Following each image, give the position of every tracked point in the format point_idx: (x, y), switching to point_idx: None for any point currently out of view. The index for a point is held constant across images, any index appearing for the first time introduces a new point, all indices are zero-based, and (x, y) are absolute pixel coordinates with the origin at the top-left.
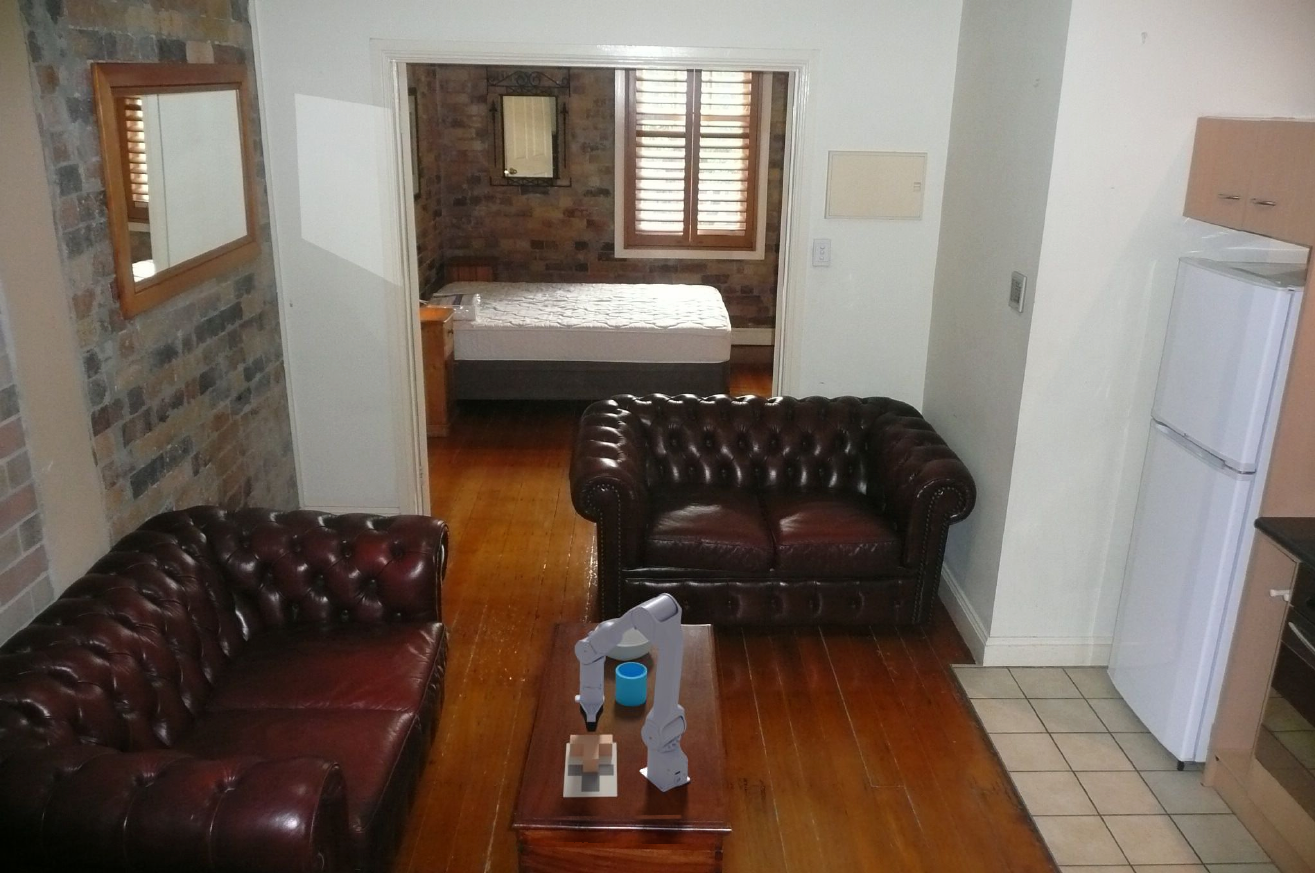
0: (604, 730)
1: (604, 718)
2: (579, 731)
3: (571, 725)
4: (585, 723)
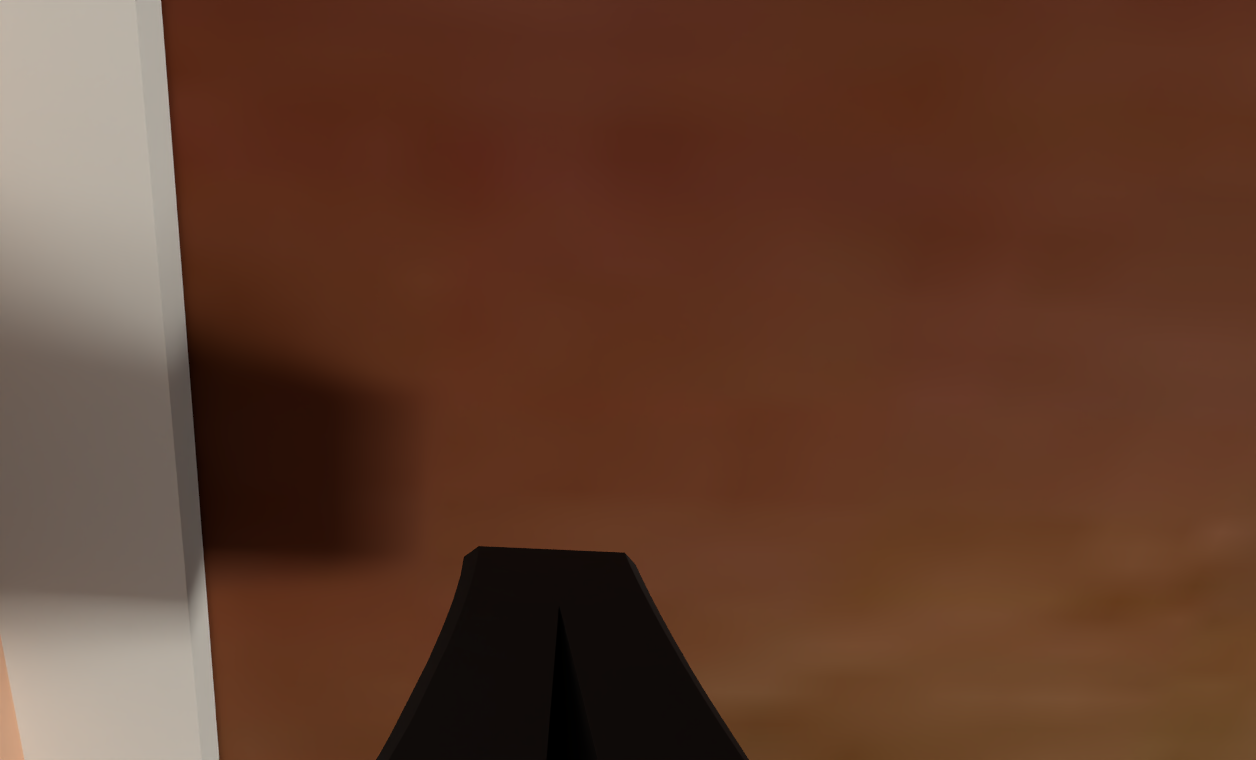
0: (741, 738)
1: (1141, 744)
2: (820, 250)
3: (1155, 51)
4: (388, 752)
